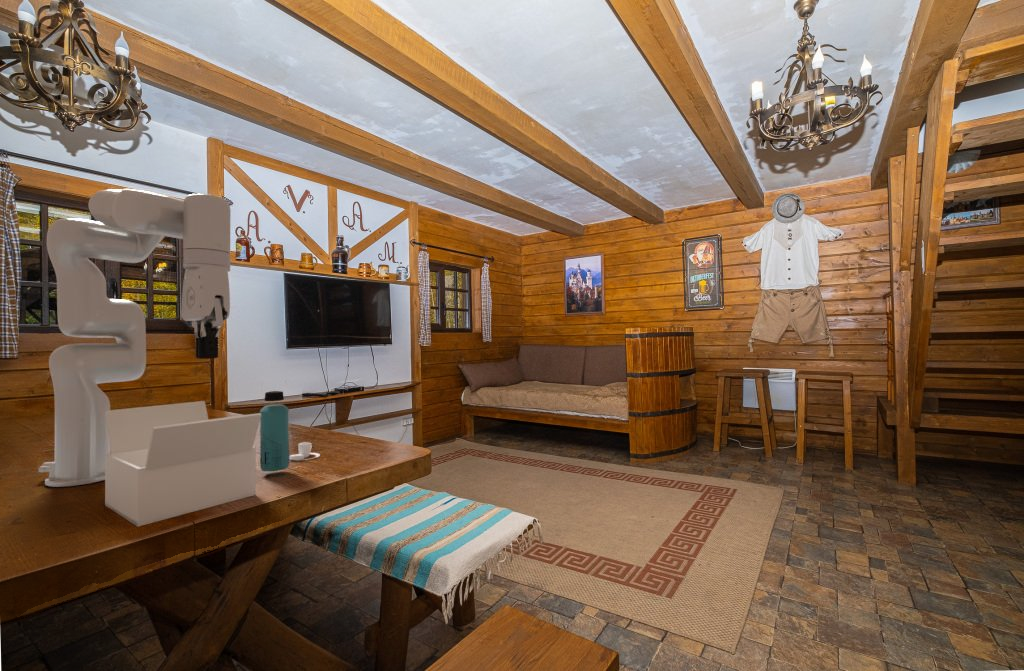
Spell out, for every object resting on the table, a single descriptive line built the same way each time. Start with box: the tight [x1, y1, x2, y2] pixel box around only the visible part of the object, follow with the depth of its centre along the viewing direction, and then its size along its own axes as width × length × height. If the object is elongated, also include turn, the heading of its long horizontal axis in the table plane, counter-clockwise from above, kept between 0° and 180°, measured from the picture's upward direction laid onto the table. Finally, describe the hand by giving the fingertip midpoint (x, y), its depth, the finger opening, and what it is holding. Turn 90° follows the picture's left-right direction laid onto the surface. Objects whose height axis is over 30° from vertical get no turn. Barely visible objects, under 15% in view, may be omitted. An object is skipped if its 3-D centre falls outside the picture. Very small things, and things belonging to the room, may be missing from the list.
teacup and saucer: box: [289, 441, 321, 461], centre depth 129 cm, size 9×8×4 cm
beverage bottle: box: [258, 390, 290, 472], centre depth 112 cm, size 6×7×20 cm
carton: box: [104, 445, 257, 528], centre depth 94 cm, size 20×18×10 cm
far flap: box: [105, 400, 209, 454], centre depth 101 cm, size 18×9×1 cm
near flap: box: [145, 412, 261, 470], centre depth 88 cm, size 18×8×1 cm
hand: (206, 358), depth 88 cm, fingers closed
